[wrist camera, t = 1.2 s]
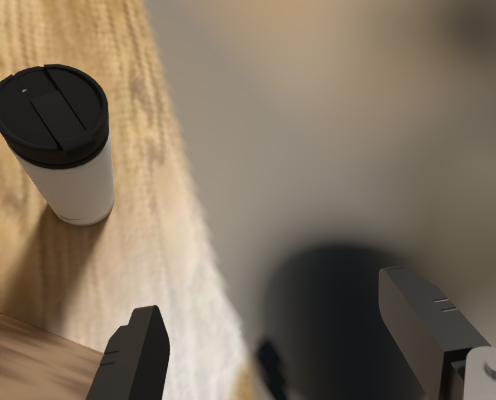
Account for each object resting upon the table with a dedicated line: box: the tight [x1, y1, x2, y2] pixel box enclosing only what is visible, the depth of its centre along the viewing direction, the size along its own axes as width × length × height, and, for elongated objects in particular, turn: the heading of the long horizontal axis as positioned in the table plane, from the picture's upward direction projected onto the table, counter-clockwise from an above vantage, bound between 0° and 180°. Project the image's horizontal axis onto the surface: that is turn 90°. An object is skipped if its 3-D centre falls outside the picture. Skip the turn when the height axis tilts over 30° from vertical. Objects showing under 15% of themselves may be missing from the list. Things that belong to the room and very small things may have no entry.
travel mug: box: [0, 64, 114, 227], centre depth 28 cm, size 6×7×20 cm
